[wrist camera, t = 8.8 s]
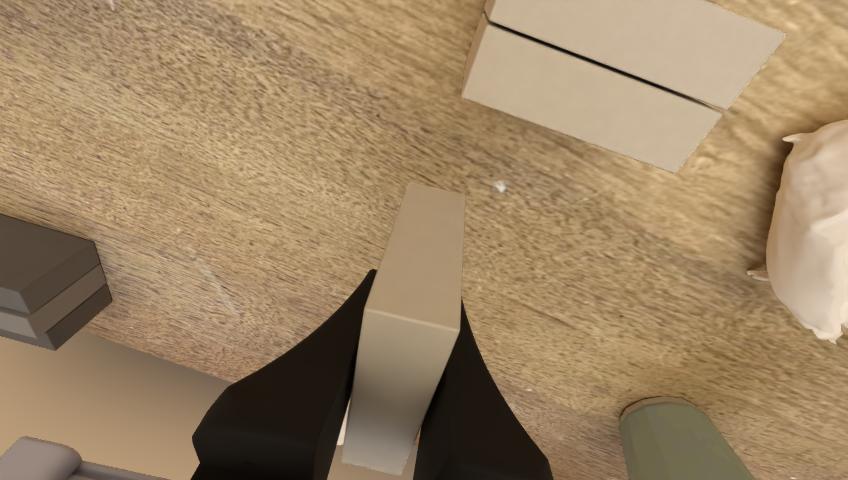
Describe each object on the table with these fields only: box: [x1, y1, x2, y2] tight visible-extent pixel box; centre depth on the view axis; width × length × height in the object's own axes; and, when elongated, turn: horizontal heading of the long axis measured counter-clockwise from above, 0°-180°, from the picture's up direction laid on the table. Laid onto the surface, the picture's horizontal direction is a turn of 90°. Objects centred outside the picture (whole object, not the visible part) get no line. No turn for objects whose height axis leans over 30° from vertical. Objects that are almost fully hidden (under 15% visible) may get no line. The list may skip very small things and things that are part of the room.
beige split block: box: [461, 0, 787, 173], centre depth 14 cm, size 8×4×6 cm, turn 73°
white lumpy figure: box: [747, 119, 848, 344], centre depth 17 cm, size 5×7×10 cm
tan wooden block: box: [341, 182, 466, 475], centre depth 13 cm, size 8×2×6 cm, turn 168°
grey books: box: [0, 214, 112, 351], centre depth 26 cm, size 8×7×6 cm
